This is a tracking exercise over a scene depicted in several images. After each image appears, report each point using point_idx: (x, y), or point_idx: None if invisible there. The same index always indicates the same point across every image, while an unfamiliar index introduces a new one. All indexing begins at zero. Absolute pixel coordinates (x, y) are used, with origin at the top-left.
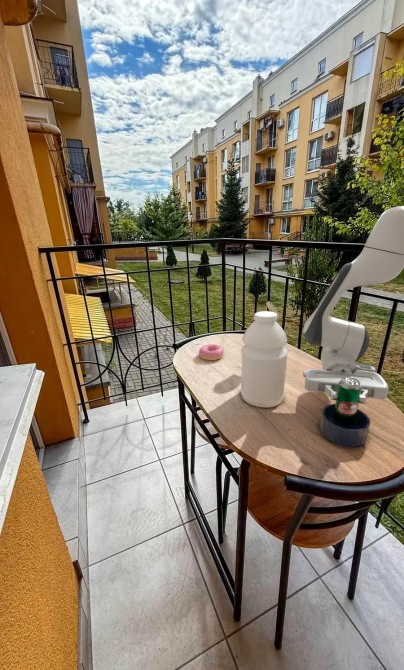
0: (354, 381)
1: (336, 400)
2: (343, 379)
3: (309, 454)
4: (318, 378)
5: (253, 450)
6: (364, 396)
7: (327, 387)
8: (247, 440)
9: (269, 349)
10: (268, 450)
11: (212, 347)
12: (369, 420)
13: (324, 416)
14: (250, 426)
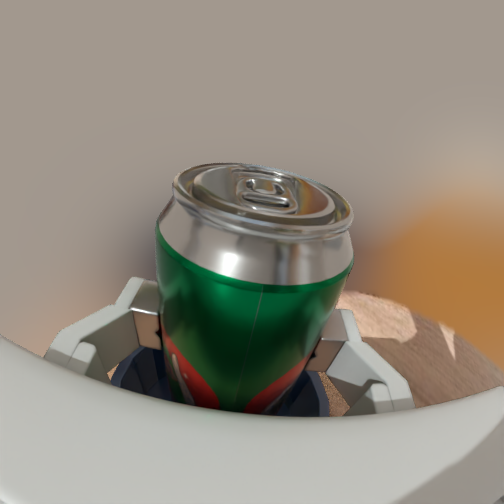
0: (228, 181)
1: None
2: (331, 203)
3: None
4: (484, 426)
5: (422, 324)
6: (129, 288)
7: (394, 371)
8: (442, 343)
9: None
10: (402, 328)
11: None
12: (118, 367)
13: (318, 385)
14: (460, 382)
